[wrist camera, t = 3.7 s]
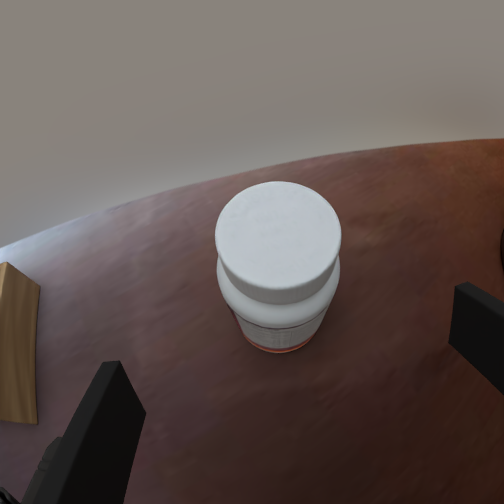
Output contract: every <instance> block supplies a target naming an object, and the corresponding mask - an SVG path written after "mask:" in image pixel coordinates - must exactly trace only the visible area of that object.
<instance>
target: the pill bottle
mask: <svg viewBox="0 0 504 504" xmlns="http://www.w3.org/2000/svg"><path fill="white" fill-rule="evenodd" d="M215 243H216V248H217V251H218V255H219V256H218V261H217V277H218V283H219V286H220V289H221V292H222V295H223V297H224V299H225V301H226V303H227V305H228V307H229V309H230V311H231V313H232V315H233V317H234V319H235V321H236V323H237V325H238V327H239V329H240V331H241V332H242V334H243V335H244V337H245V338H246V339H247V340H248V341H249V342H250V343H251V344H253V345H254V346H256V347H258V348H259V349H262V350H264V351H268V352H273V353H284V352H290V351H293V350H296V349H298V348H300V347H301V346H303V345H305V344H306V343H307V342H308V341H309V340H310V339H311V338H312V337H313V336H314V334H315V333H316V331H317V330H318V328H319V326H320V324H321V322H322V320H323V318H324V315H325V313H326V311H327V309H328V307H329V305H330V302H331V300H332V298H333V296H334V294H335V291H336V288H337V285H338V282H339V276H340V261H339V256H338V253H339V250H340V246H341V227H340V223H339V220H338V217H337V215H336V213H335V211H334V209H333V208H332V207H331V205H330V204H329V203H328V202H327V201H326V200H325V199H324V198H323V197H322V196H321V195H319V194H318V193H317V192H315V191H313V190H311V189H309V188H307V187H305V186H302V185H299V184H295V183H290V182H282V181H279V182H266V183H262V184H258V185H255V186H252V187H249V188H247V189H245V190H243V191H242V192H240V193H239V194H237V195H236V196H235V197H233V198H232V199H231V200H230V201H229V202H228V203H227V205H226V206H225V207H224V209H223V210H222V212H221V214H220V216H219V218H218V221H217V225H216V229H215Z"/></svg>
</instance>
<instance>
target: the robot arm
mask: <svg viewBox="0 0 504 504" xmlns="http://www.w3.org/2000/svg"><path fill="white" fill-rule="evenodd" d="M501 250H502V260H503V266H504V230H503V235H502V243H501ZM448 343H449V344H450V345H451V346H453V347H454V348H455V349H456V350H457V351H458V352H459V353H460V354H461V355H462V356H463V357H464V358H466V359H467V360H468V361H469V362H470V363H471V364H472V365H473V366H474V367H475V368H476V369H477V370H478V371H479V372H480V373H481V374H482V375H483V376H484V377H486V378H487V379H488V380H489V381H490V382H491V383H492V384H493V385H494V386H495V387H496V388H497V389H498V390H499V391H500V392H501V393H502V394H503V395H504V303H503V302H502V301H500V300H498V299H497V298H495V297H493V296H492V295H490V294H488V293H487V292H485V291H483V290H482V289H480V288H478V287H476V286H475V285H473V284H471V283H470V282H465V283H462V284H459V285H457V286H455V292H454V303H453V312H452V321H451V328H450V335H449V342H448ZM145 416H146V412H145V410H144V408H143V406H142V404H141V402H140V400H139V398H138V397H137V395H136V393H135V391H134V389H133V387H132V385H131V383H130V381H129V379H128V377H127V375H126V372H125V370H124V368H123V366H122V364H121V362H120V361H109V362H103V363H102V364H101V366H100V368H99V370H98V371H97V373H96V375H95V377H94V379H93V380H92V382H91V384H90V386H89V388H88V389H87V391H86V393H85V395H84V397H83V399H82V400H81V402H80V404H79V406H78V408H77V410H76V412H75V414H74V416H73V418H72V420H71V421H70V423H69V425H68V427H67V429H66V431H65V433H64V435H63V437H57V438H56V439H55V440H54V441H53V442H52V443H51V444H50V445H49V446H48V447H47V449H46V451H45V453H44V455H43V457H42V461H40V463H39V465H38V470H36V472H35V474H34V476H33V478H32V480H31V482H30V484H29V486H28V489H27V491H26V493H25V495H24V498H23V500H22V502H21V503H19V502H18V501H17V500H16V499H15V498H14V497H13V496H12V495H10V494H9V493H8V492H7V491H6V490H5V489H4V488H3V487H0V504H123V502H124V497H125V493H126V489H127V485H128V481H129V477H130V472H131V468H132V465H133V461H134V457H135V453H136V449H137V445H138V442H139V438H140V434H141V431H142V427H143V423H144V420H145Z"/></svg>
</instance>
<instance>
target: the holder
mask: <svg viewBox="0 0 504 504" xmlns="http://www.w3.org/2000/svg"><path fill="white" fill-rule="evenodd" d="M39 291H40V286H39V285H38V284H36V283H35V282H34V281H33V280H31V279H30V278H28V277H27V276H26V275H24V274H23V273H22V272H20V271H19V270H18V269H16V268H15V267H14V266H12V265H11V264H10V263H8V262H4V263H1V264H0V420H3V421H11V422H18V423H27V424H38V421H37V408H36V390H35V342H36V323H37V311H38V300H39Z"/></svg>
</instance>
